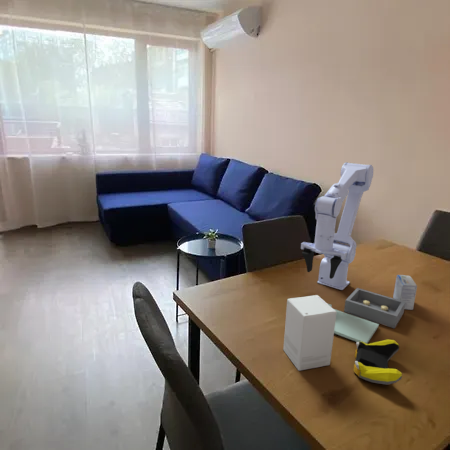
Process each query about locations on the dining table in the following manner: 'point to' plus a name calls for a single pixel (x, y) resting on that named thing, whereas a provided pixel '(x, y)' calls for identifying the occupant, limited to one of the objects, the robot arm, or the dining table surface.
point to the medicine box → (405, 290)
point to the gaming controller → (376, 362)
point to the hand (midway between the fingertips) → (320, 274)
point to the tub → (375, 307)
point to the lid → (354, 327)
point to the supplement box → (309, 332)
